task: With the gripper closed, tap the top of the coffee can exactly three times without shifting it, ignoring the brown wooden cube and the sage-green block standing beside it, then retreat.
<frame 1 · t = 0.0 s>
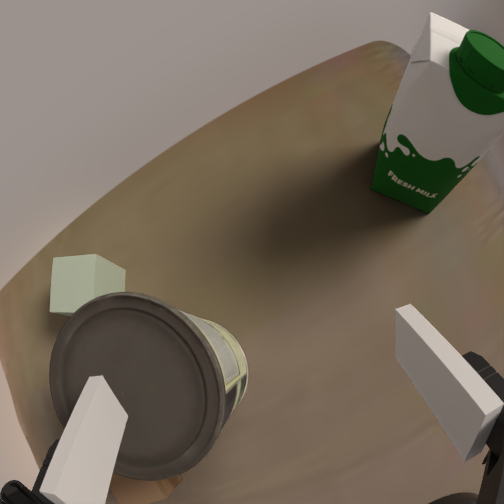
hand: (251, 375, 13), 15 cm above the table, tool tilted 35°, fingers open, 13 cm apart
sage block: (104, 295, 30), on the table
brown wooden cube: (149, 465, 25), on the table
milk carton: (405, 175, 31), on the table
coffee can: (193, 371, 28), on the table
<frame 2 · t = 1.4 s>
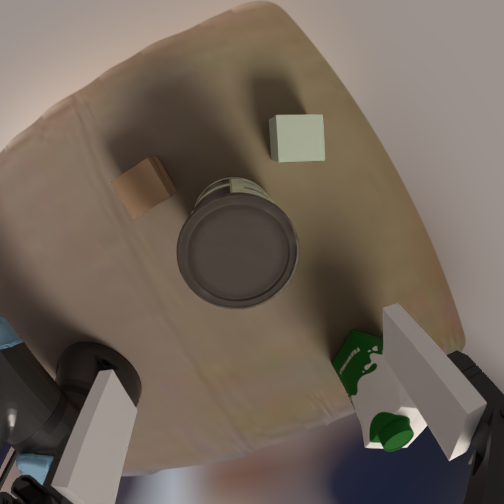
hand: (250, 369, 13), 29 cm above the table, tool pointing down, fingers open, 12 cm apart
sage block: (290, 138, 37), on the table
brown wooden cube: (150, 183, 38), on the table
milk carton: (358, 350, 49), on the table
coffee can: (234, 217, 40), on the table
dark capped bottle: (11, 398, 48), on the table
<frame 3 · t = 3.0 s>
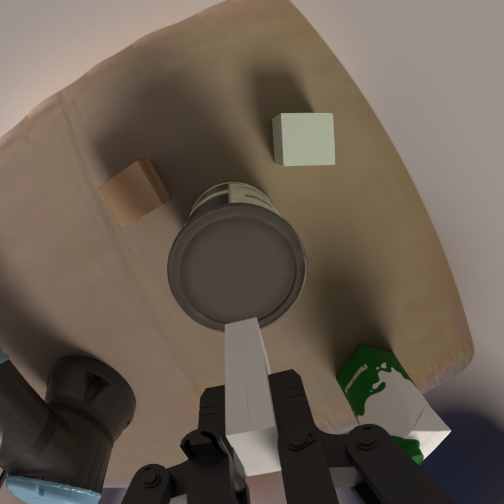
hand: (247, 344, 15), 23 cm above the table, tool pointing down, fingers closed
sage block: (295, 139, 34), on the table
brown wooden cube: (141, 188, 34), on the table
milk carton: (365, 365, 45), on the table
coffee can: (233, 226, 37), on the table
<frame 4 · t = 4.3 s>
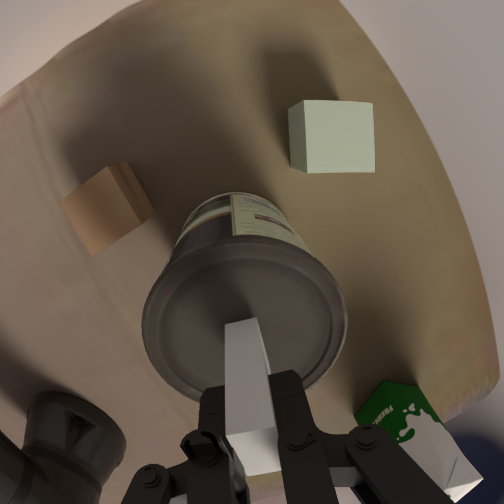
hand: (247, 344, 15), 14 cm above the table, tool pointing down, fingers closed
sage block: (317, 137, 26), on the table
brown wooden cube: (119, 200, 26), on the table
milk carton: (387, 401, 37), on the table
coffee can: (237, 248, 29), on the table, touching gripper
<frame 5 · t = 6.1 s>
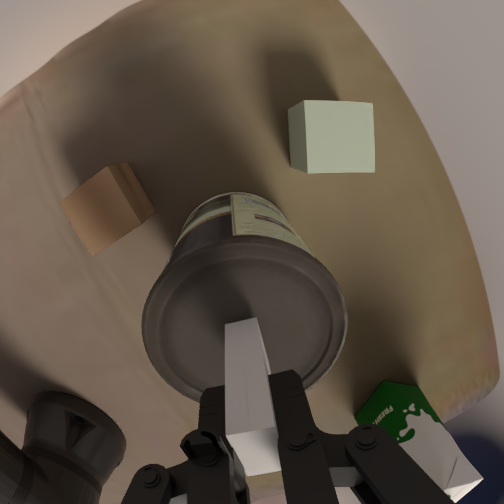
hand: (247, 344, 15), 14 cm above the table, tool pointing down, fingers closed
sage block: (317, 137, 26), on the table
brown wooden cube: (119, 200, 26), on the table
milk carton: (387, 401, 37), on the table
coffee can: (237, 248, 29), on the table, touching gripper
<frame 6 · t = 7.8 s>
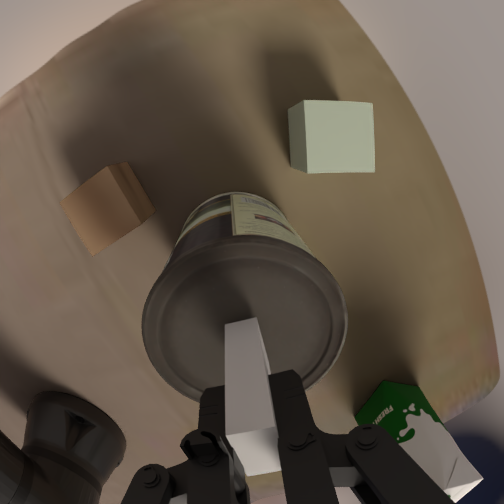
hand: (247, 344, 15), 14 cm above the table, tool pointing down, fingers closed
sage block: (317, 137, 26), on the table
brown wooden cube: (119, 200, 26), on the table
milk carton: (387, 401, 37), on the table
coffee can: (237, 248, 29), on the table, touching gripper
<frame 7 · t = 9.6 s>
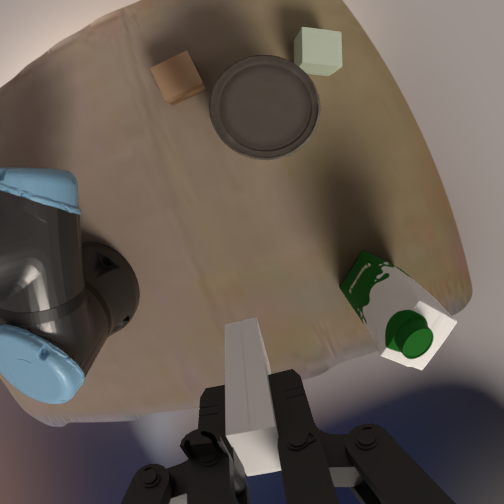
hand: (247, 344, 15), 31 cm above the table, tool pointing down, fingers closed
sage block: (311, 58, 38), on the table
brown wooden cube: (182, 82, 38), on the table
milk carton: (367, 277, 49), on the table
coffee can: (256, 118, 41), on the table
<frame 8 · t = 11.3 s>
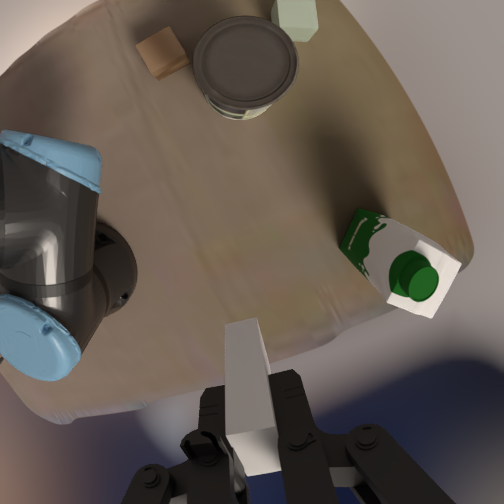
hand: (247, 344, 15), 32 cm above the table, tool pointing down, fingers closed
sage block: (289, 26, 37), on the table
brown wooden cube: (167, 58, 38), on the table
milk carton: (366, 236, 48), on the table
coffee can: (240, 86, 40), on the table
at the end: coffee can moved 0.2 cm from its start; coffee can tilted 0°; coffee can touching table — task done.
